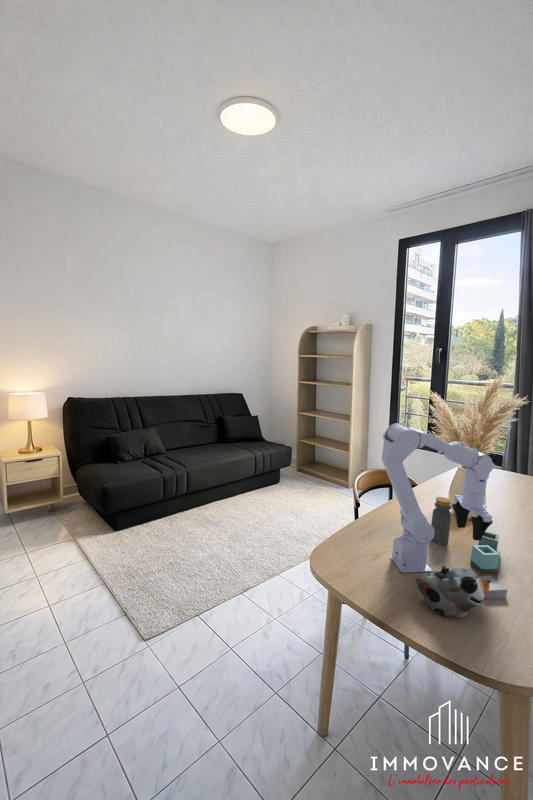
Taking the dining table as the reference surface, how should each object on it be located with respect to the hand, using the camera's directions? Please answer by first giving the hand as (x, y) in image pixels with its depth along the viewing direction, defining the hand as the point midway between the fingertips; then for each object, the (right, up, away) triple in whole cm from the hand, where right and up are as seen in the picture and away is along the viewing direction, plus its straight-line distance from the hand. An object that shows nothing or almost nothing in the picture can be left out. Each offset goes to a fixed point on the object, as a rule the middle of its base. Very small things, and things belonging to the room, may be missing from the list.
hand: (468, 533), depth 112 cm
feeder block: (-1, -12, -11) cm, 16 cm away
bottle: (-2, -8, +16) cm, 18 cm away
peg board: (+6, -10, +2) cm, 12 cm away
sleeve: (+3, -9, -3) cm, 10 cm away
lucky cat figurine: (-14, -13, -17) cm, 26 cm away
